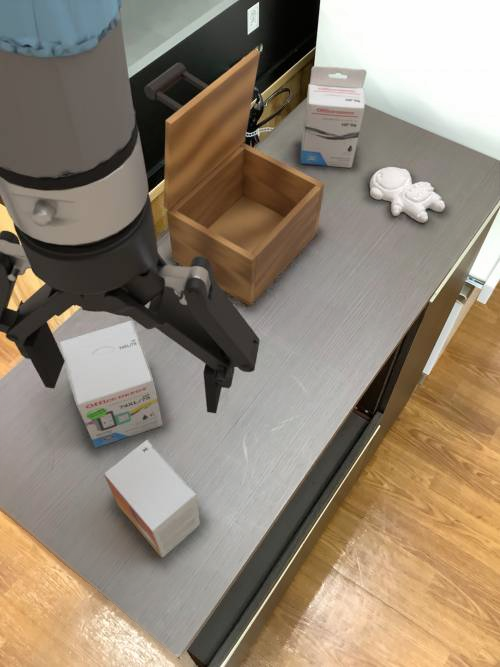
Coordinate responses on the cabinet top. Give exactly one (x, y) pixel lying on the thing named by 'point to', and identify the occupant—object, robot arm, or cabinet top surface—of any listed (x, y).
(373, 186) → the astronaut figurine
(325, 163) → the ink box
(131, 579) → the cabinet top surface
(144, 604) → the cabinet top surface
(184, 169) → the lid
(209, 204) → the chest
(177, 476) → the small box
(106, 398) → the ink box
